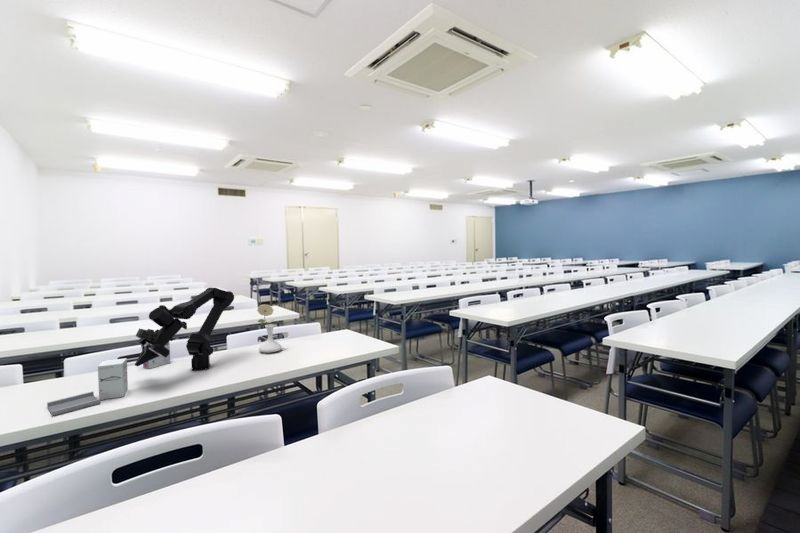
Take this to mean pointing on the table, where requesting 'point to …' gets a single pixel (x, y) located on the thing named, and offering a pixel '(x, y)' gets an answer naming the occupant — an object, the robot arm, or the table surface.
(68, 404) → the tray
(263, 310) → the flower in vase
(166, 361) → the ink cartridge box
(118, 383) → the supplement box
